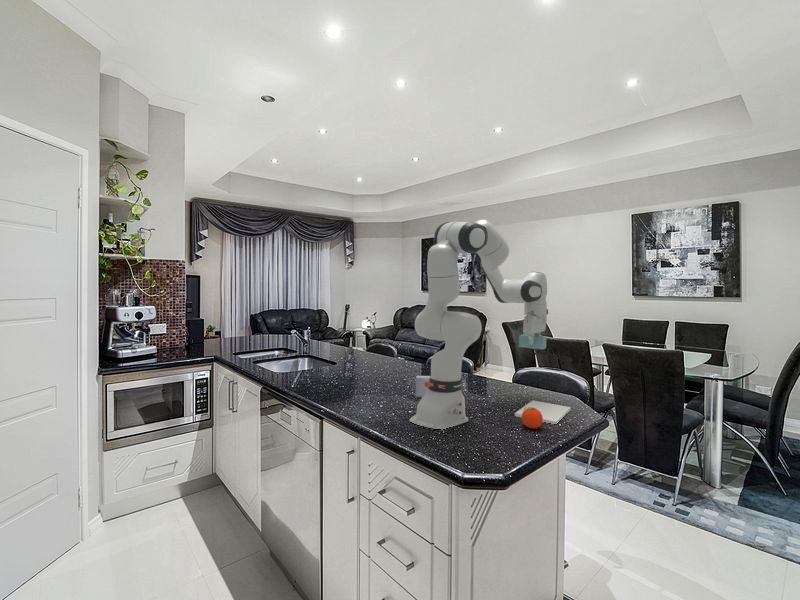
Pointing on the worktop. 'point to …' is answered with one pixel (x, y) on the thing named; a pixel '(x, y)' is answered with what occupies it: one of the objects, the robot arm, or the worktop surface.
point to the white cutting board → (547, 411)
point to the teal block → (538, 344)
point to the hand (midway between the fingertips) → (534, 343)
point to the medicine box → (421, 385)
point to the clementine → (532, 417)
